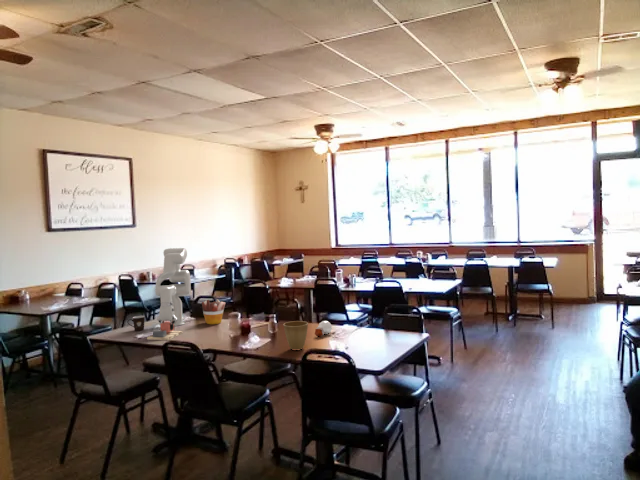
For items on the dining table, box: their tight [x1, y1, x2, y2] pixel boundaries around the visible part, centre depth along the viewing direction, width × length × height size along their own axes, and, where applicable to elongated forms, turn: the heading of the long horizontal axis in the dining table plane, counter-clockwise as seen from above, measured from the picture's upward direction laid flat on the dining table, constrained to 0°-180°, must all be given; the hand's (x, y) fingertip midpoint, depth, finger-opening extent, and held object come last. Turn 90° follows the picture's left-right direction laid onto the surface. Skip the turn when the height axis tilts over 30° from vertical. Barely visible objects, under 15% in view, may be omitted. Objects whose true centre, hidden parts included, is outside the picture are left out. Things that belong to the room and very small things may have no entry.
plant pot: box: [283, 320, 309, 350], centre depth 303 cm, size 15×15×16 cm
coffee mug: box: [127, 315, 146, 332], centre depth 371 cm, size 12×9×10 cm
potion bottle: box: [314, 320, 333, 337], centre depth 338 cm, size 9×10×15 cm
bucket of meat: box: [201, 298, 226, 325], centre depth 389 cm, size 20×16×20 cm
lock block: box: [159, 321, 175, 333], centre depth 352 cm, size 8×6×6 cm
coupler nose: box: [152, 329, 167, 337], centre depth 342 cm, size 4×8×4 cm, turn 78°
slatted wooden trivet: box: [146, 330, 183, 341], centre depth 349 cm, size 20×16×2 cm
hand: (167, 329), depth 352 cm, fingers closed on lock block, 6 cm apart
